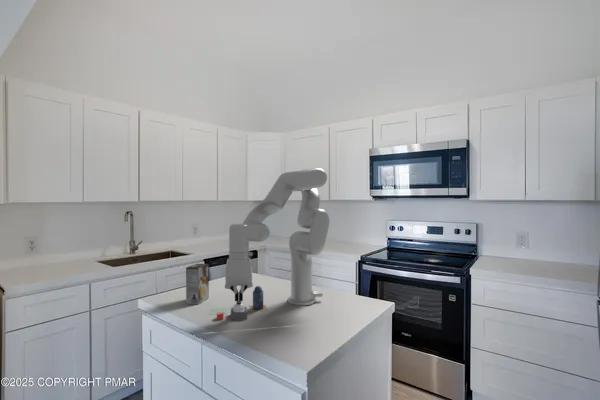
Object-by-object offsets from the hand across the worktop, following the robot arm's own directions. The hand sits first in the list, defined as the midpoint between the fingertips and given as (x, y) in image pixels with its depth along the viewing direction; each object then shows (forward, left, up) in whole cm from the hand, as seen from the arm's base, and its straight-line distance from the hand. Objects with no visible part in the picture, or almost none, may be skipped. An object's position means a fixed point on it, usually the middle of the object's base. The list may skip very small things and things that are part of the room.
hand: (238, 302), depth 118 cm
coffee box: (+18, -24, -6) cm, 31 cm away
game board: (0, -4, -6) cm, 7 cm away
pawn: (-8, -8, -5) cm, 13 cm away
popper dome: (0, 0, -6) cm, 6 cm away
